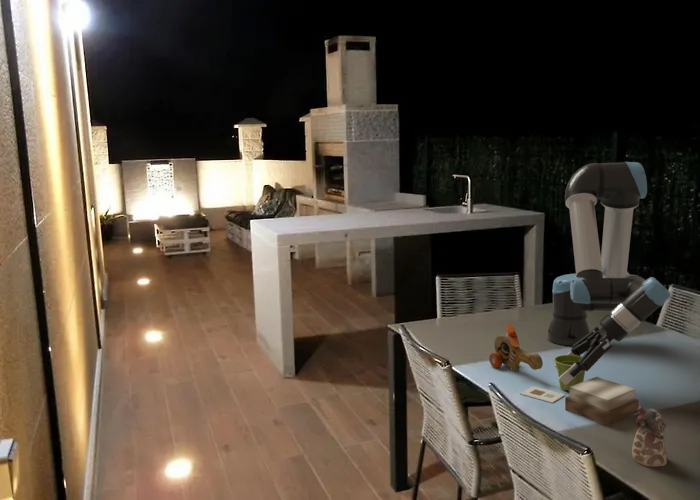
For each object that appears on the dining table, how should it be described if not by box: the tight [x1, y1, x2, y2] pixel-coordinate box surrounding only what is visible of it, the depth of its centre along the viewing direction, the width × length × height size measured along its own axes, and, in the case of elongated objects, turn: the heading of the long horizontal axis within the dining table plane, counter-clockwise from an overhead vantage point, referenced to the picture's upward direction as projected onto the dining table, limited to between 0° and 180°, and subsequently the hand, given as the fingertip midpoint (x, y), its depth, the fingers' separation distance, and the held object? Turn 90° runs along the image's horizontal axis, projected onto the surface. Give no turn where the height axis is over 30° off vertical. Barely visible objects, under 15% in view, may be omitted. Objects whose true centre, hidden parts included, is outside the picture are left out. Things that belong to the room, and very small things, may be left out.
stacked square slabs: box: [564, 376, 640, 427], centre depth 169 cm, size 13×13×6 cm
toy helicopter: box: [488, 323, 544, 372], centre depth 199 cm, size 8×21×14 cm, turn 26°
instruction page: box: [520, 385, 566, 404], centre depth 182 cm, size 10×7×1 cm
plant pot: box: [553, 354, 586, 393], centre depth 185 cm, size 9×9×9 cm
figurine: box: [631, 406, 668, 468], centre depth 143 cm, size 7×7×12 cm
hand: (559, 375), depth 185 cm, fingers closed on plant pot, 9 cm apart
